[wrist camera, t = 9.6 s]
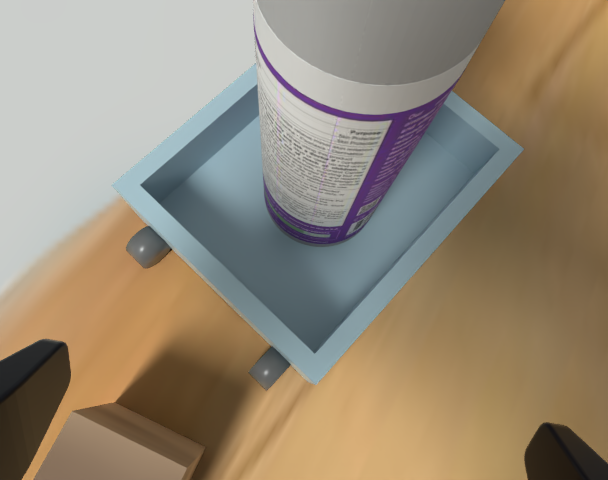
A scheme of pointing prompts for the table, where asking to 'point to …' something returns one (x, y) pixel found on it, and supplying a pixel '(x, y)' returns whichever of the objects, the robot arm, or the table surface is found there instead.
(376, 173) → the container
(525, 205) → the table surface
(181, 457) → the walnut block
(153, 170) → the cart
